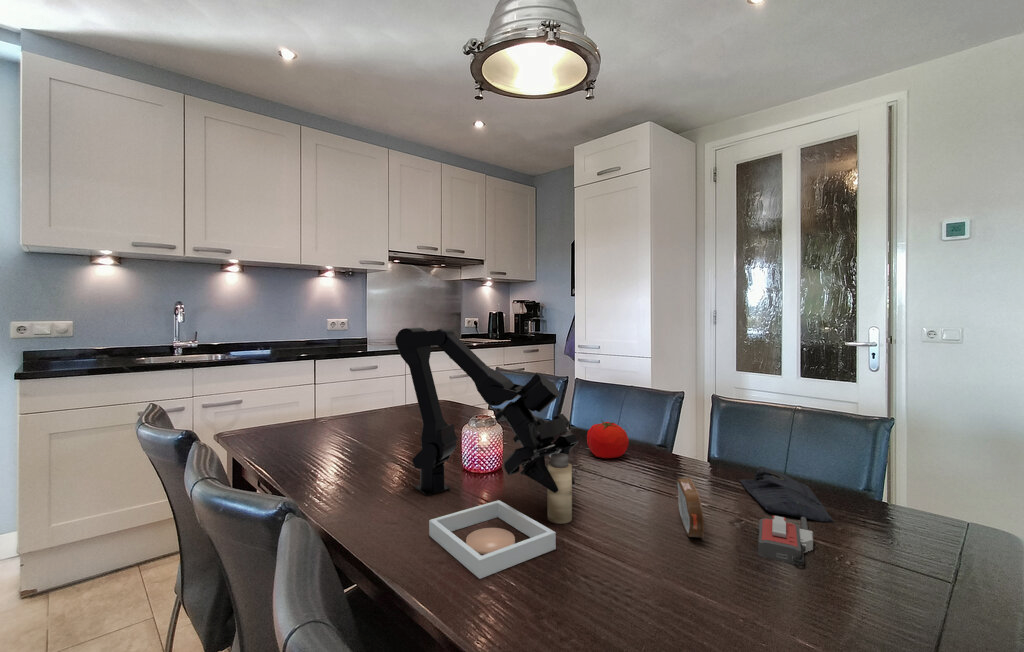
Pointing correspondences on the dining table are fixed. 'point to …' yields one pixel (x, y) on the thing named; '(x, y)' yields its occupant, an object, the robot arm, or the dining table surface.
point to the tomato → (607, 440)
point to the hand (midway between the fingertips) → (565, 488)
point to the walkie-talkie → (784, 540)
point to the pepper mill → (560, 489)
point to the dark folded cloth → (785, 495)
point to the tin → (690, 508)
